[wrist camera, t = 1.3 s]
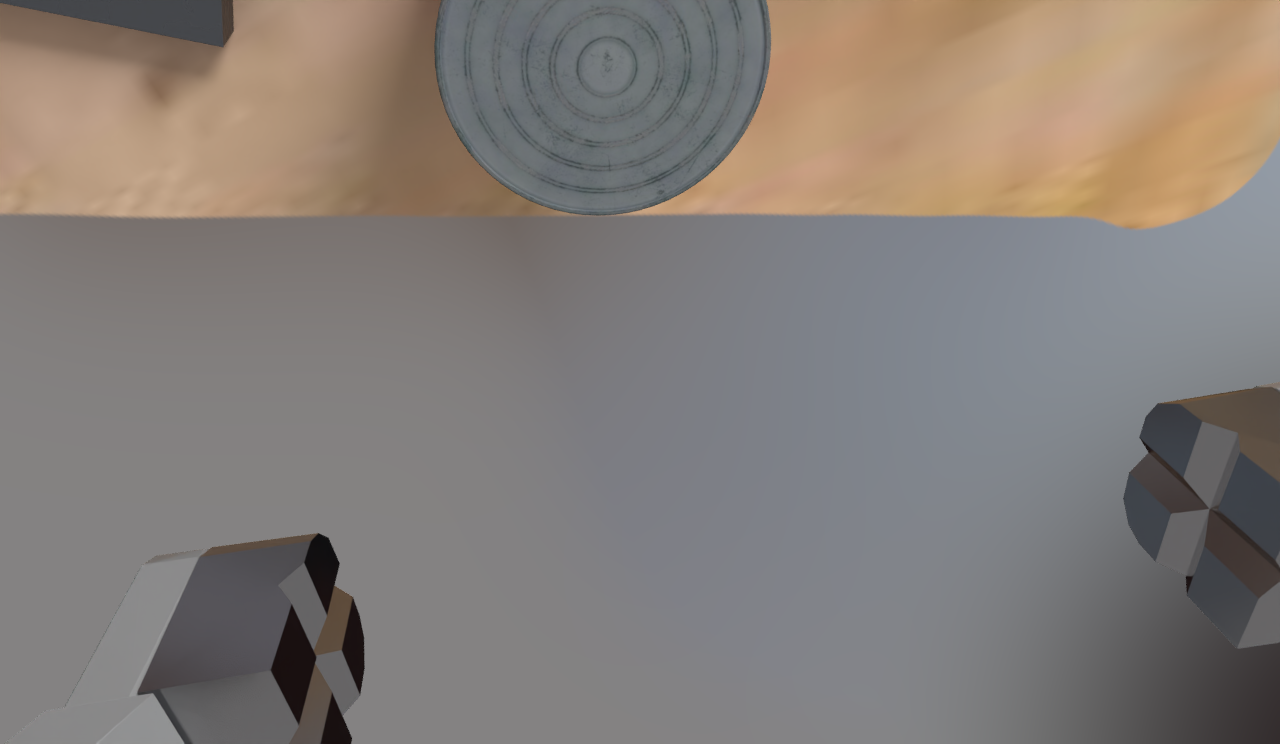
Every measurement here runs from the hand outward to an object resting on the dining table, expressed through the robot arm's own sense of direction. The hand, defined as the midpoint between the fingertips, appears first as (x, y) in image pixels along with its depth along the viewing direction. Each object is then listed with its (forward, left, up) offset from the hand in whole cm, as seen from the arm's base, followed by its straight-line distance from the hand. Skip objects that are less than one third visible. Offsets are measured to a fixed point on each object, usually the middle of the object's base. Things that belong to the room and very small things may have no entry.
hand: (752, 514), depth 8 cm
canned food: (+4, +2, -35) cm, 35 cm away
